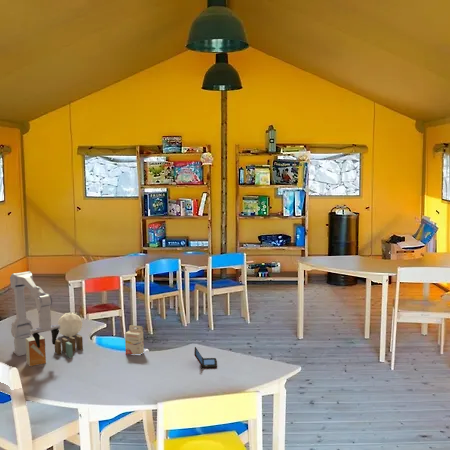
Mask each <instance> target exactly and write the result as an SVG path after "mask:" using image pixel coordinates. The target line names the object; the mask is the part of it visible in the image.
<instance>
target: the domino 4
mask: <svg viewBox="0 0 450 450" xmlns="http://www.w3.org/2000/svg"><path fill="white" fill-rule="evenodd" d="M73 355H74V354H73V350H72V344H71V343H70V342H69V341H68V342H66V353H65V356H66V357H68V358H70V359H71V358H73V357H74V356H73Z"/></svg>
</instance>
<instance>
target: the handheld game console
mask: <svg viewBox="0 0 450 450" xmlns="http://www.w3.org/2000/svg"><path fill="white" fill-rule="evenodd" d="M193 355H194V356H195V359H196V360H197V362H198V363H199V364H200V366H201V369H202V368H204V369H217V358H216V357H208V358H207V357H203V356H202V354H201V353H200V352H199V349H198V348H197V347H196V346H195V347H194V354H193Z"/></svg>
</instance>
